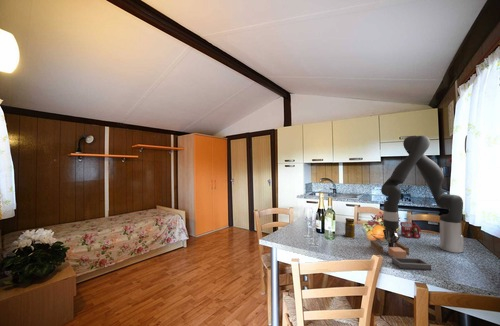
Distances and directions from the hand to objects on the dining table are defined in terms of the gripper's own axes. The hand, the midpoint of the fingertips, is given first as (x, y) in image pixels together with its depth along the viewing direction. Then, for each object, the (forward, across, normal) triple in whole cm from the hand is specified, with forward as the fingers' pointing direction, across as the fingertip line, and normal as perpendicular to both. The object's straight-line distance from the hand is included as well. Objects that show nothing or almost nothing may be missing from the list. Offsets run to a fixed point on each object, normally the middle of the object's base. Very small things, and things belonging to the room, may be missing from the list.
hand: (390, 248), depth 119 cm
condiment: (+2, +25, +14) cm, 29 cm away
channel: (+2, +2, 0) cm, 3 cm away
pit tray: (+2, -16, 0) cm, 16 cm away
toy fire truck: (+2, +30, -30) cm, 42 cm away
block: (+2, -5, 0) cm, 5 cm away
